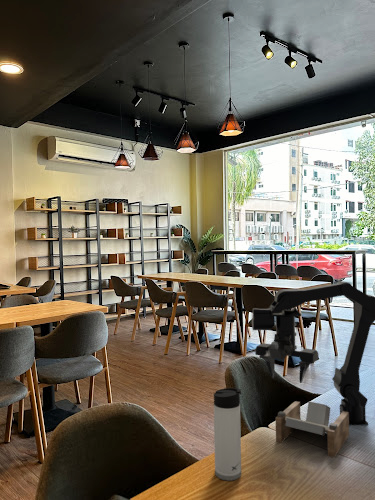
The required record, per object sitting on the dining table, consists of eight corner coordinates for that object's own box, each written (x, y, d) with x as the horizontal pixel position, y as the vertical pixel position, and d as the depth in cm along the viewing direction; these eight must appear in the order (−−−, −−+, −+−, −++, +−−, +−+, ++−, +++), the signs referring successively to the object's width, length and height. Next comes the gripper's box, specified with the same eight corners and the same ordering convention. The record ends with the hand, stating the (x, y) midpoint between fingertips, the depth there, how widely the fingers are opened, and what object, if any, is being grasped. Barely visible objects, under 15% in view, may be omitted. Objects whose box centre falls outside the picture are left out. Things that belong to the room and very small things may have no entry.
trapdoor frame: (295, 422, 123) (295, 398, 123) (349, 435, 114) (348, 409, 114) (275, 441, 111) (275, 415, 111) (334, 457, 102) (333, 428, 102)
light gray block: (310, 425, 119) (313, 404, 121) (328, 429, 116) (330, 407, 118) (305, 422, 115) (308, 401, 117) (323, 427, 112) (325, 404, 114)
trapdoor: (298, 431, 120) (299, 422, 121) (339, 441, 113) (340, 432, 114) (281, 424, 110) (283, 415, 111) (326, 435, 103) (327, 425, 104)
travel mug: (241, 482, 92) (240, 395, 92) (213, 479, 93) (211, 393, 93) (243, 468, 98) (242, 386, 98) (216, 465, 99) (215, 384, 99)
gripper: (246, 331, 124) (247, 382, 124) (306, 338, 113) (307, 393, 113) (262, 325, 133) (263, 372, 133) (318, 331, 122) (319, 382, 122)
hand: (286, 380), depth 125 cm, fingers open, 9 cm apart
